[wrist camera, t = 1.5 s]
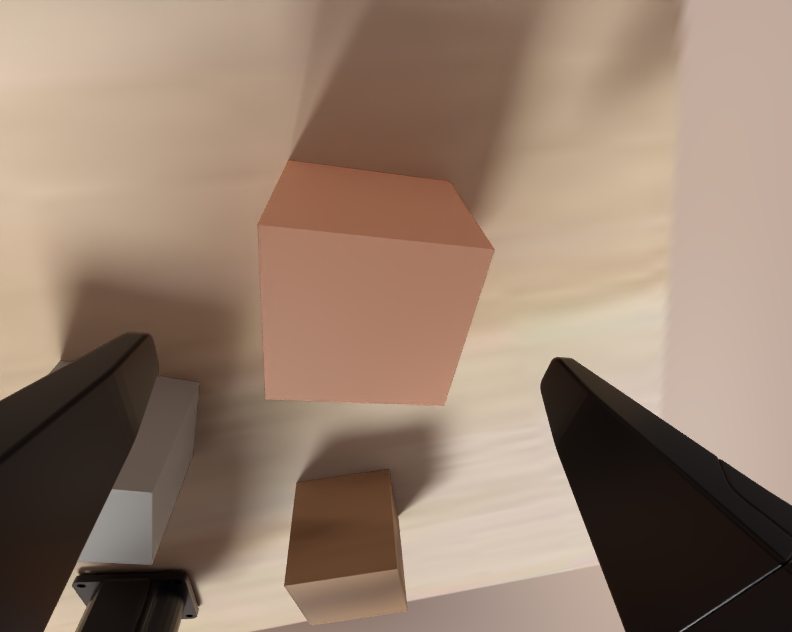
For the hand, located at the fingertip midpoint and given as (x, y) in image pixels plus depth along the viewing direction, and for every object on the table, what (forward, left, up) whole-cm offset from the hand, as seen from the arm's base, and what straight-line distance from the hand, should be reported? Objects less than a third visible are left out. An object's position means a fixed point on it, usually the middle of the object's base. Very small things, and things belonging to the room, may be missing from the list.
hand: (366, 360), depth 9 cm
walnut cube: (-16, -1, -6) cm, 17 cm away
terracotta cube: (0, 0, -6) cm, 6 cm away
